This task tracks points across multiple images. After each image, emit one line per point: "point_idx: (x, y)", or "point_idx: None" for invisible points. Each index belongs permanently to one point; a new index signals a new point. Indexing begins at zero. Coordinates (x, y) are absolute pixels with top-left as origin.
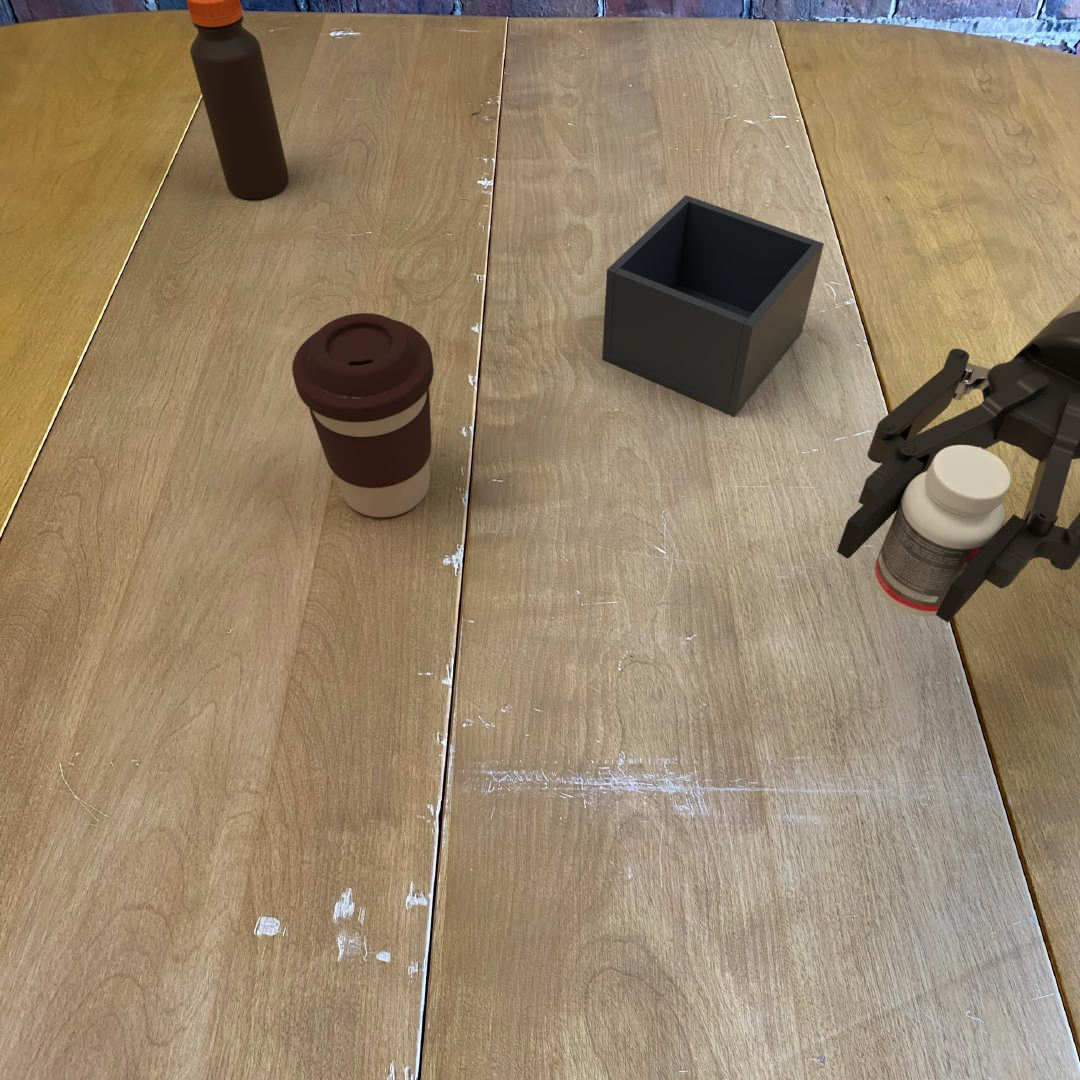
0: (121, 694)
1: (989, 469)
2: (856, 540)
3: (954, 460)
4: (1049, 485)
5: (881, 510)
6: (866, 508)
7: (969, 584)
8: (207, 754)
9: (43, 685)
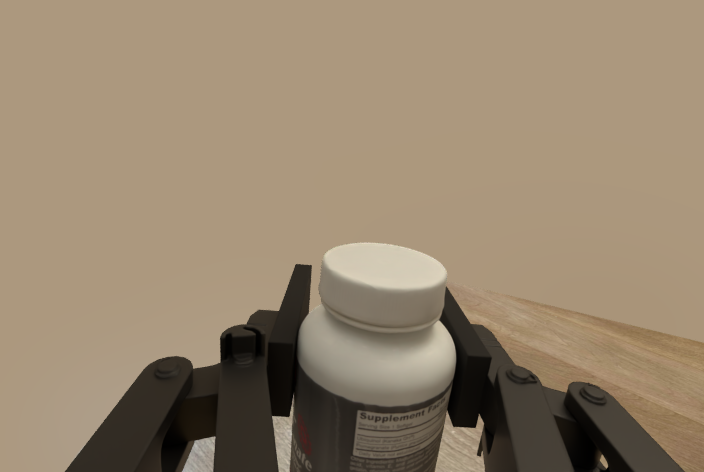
0: (585, 332)
1: (366, 269)
2: None
3: (416, 264)
4: (252, 446)
5: None
6: None
7: (295, 269)
8: (537, 334)
9: (599, 322)
